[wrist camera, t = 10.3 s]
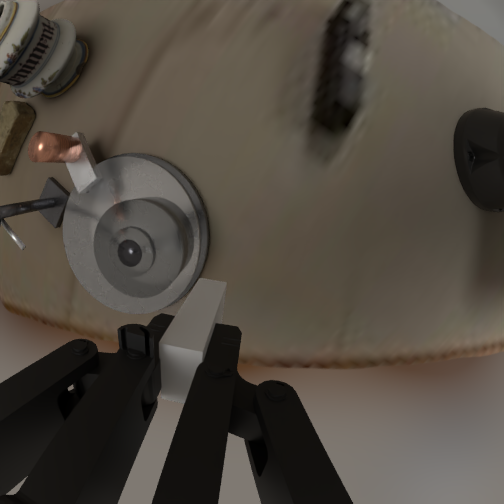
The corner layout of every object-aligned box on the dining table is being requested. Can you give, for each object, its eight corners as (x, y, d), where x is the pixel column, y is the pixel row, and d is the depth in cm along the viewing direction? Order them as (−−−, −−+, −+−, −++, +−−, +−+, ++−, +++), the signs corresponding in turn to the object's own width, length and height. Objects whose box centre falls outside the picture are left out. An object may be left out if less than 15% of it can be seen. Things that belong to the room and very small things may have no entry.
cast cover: (166, 180, 26) (143, 179, 20) (210, 256, 28) (198, 275, 22) (104, 224, 27) (74, 234, 22) (144, 293, 29) (122, 316, 23)
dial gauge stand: (86, 209, 30) (-8, 232, 14) (72, 239, 31) (-15, 275, 15) (52, 177, 29) (-37, 185, 13) (40, 207, 30) (-44, 227, 14)
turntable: (137, 96, 25) (99, 72, 16) (232, 270, 29) (221, 303, 21) (39, 183, 27) (-6, 188, 19) (115, 328, 32) (83, 364, 23)
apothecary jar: (76, 104, 27) (-23, 76, 9) (27, 105, 26) (-56, 90, 9) (107, 30, 24) (35, -28, 6) (54, 38, 23) (-16, 4, 6)
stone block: (-2, 161, 28) (-21, 161, 24) (26, 100, 26) (6, 95, 21) (11, 177, 29) (-10, 179, 24) (40, 112, 27) (19, 107, 22)
